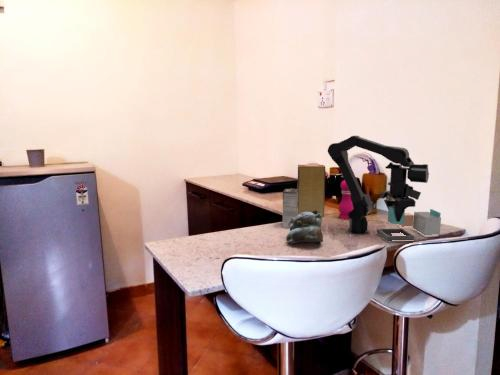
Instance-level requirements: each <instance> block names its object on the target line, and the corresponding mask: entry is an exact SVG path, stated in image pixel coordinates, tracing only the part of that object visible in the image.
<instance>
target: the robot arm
mask: <svg viewBox="0 0 500 375" xmlns="http://www.w3.org/2000/svg"><path fill="white" fill-rule="evenodd" d="M355 147H357V148H360V149H363V150H366V151H369V152H370V153H371V152H372V153H375V154H378V155H380V156H382V157H384V158H385V159H386V160H388V161H391V162H389V163H388V164H387V165H386V166H385V167H384V168H385V169H389V170H390V175H389V176H390V180H389V181H388V182H387V185H388V186H389V190H382V191H381V192H380V196H379V197H380V198H381V199H383V201H384V203H385V205H386V208H387V210H388V209H389V206H393V209H394V213H395V217H396V221H397V222H399V221H400V220H401V217H402V215H403V213H404V211H405V212H406V209H407V208H415V207H416V200H417V201H418V200H419V198H420V196H421V195H422V191H421V192H420V191H418V190H415V189H414V187H413V186H411V185H409V184H408V183H407V180H409V181H410V183H424V184H425V183H426V184H427V183H428V182H429V175H430V172H429V164H427V163H425V164H424V163H423V164H416V163H414V161H413V160H412V158H411V157H410V152H409V150H408V149H407V148H405V147H400V146H392V145H391V146H390V145H385V144H382V143H380V142H376V141H374V140H369V139H367V138H364V137H361V136H360V135H351V136H350V137H348V138H347V139H343V140H341V141H339V142H335V143H334V142H333V143H331V144H330V145H329V146H328V148H327V153H328V155H329V157H330V158H331V160H332V161H333V162H334V163H335V164H336V165H337V167H338V169H339V170H340V173H341V176H342V177H343V181H344V180H345V182H346V184H347V186H348V189H349V191H350V193H351V201H352V204H353V208H354V209H353V210H352V211H351V212H349V213H348V216H349V219H348V220H349V224H348V225H349V226H348V228H347V230H348V231H349V232H350V234H357V235H358V234H368V227H369V225H368V223H369V222H368V220H367V217H368V214H369V213H371V212H372V210H373V208H374V207H373V204H374V202H373V201H372V199H371V196H370V194H369V193H367V194H365V192H363V191H362V190H363V189H362V187H361V186H360V184H359V182H358V179H357V177H356V175H355V173H354V170H353V168H352V166H351V164H350V162H349V153H348V151H349V150H351V149H352V148H355Z"/></svg>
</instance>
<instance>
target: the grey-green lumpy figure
mask: <svg viewBox="0 0 500 375" xmlns="http://www.w3.org/2000/svg"><path fill="white" fill-rule="evenodd" d="M322 221H323V217H322V215H321V214H318V213H317V211H316V210H315V211H313V212H303V213H300V214H298V216H296V217H295V218H292V219H290V222H291V225H290V228H289V230H290V231H289V232H288V233H287V234H286V237H285V238H286V239H285V240H286V244H288V245H291V244H297V243H314V244H315V243H317V244H321V243H323V242H324V239H323V238H324V235H323V232H322Z"/></svg>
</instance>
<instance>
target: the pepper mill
mask: <svg viewBox="0 0 500 375" xmlns="http://www.w3.org/2000/svg"><path fill="white" fill-rule="evenodd" d="M340 189H341V194H342V198H341V201H340V203H339V205H338V211H339V215H338V218H339V219H342V220H350V219H349V216H348V213H349V212H351V211H352V210H353V209H354V208H353V204H352V195H351V193H350V191H349V189H348V186H347V184H346V182H345V180H344V179H343V180H342V181H341V183H340Z"/></svg>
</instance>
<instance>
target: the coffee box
mask: <svg viewBox="0 0 500 375" xmlns="http://www.w3.org/2000/svg"><path fill="white" fill-rule="evenodd" d="M298 200H299V189H297V188H284V190H283V191H282V228H283V229H284V228H285V229H290V225H291V222H290V219H292V218H295V217H296V216H298Z"/></svg>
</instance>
